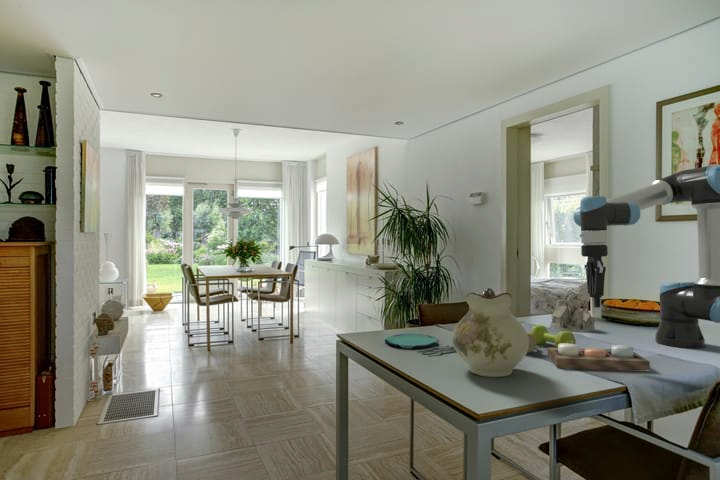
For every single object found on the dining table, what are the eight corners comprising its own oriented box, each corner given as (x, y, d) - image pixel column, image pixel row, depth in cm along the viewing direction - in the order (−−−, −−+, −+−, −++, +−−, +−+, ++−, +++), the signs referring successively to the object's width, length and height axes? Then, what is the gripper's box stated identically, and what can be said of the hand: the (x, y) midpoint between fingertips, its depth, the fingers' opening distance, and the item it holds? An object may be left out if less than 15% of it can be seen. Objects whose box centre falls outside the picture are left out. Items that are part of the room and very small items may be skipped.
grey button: (629, 357, 143) (628, 345, 143) (636, 362, 137) (636, 349, 137) (608, 356, 144) (608, 344, 144) (615, 361, 138) (615, 349, 138)
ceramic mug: (522, 355, 154) (522, 333, 154) (505, 350, 161) (505, 329, 161) (544, 352, 158) (544, 330, 158) (527, 347, 166) (526, 326, 166)
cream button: (575, 355, 146) (575, 343, 146) (581, 360, 140) (580, 347, 140) (556, 355, 147) (556, 343, 147) (560, 359, 141) (560, 347, 141)
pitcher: (484, 386, 121) (484, 295, 121) (436, 365, 142) (436, 288, 143) (546, 376, 130) (545, 291, 130) (492, 358, 151) (491, 285, 152)
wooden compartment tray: (631, 359, 146) (630, 350, 146) (649, 371, 133) (649, 361, 133) (547, 356, 152) (547, 347, 152) (557, 367, 138) (557, 358, 138)
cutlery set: (417, 336, 187) (417, 330, 187) (465, 352, 161) (465, 346, 161) (376, 342, 178) (376, 336, 178) (421, 361, 151) (421, 354, 151)
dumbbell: (578, 351, 157) (577, 331, 157) (561, 354, 154) (560, 333, 154) (543, 342, 173) (543, 323, 173) (527, 344, 170) (527, 325, 170)
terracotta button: (602, 360, 144) (602, 348, 144) (608, 365, 139) (608, 352, 139) (582, 359, 146) (582, 347, 146) (587, 364, 140) (587, 352, 140)
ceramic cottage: (544, 326, 203) (546, 293, 202) (577, 326, 205) (579, 294, 204) (564, 335, 188) (566, 300, 187) (600, 335, 190) (602, 300, 189)
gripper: (575, 244, 150) (577, 313, 150) (587, 244, 137) (590, 320, 137) (599, 243, 149) (601, 313, 149) (614, 244, 136) (616, 320, 136)
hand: (596, 316), depth 143 cm, fingers closed
